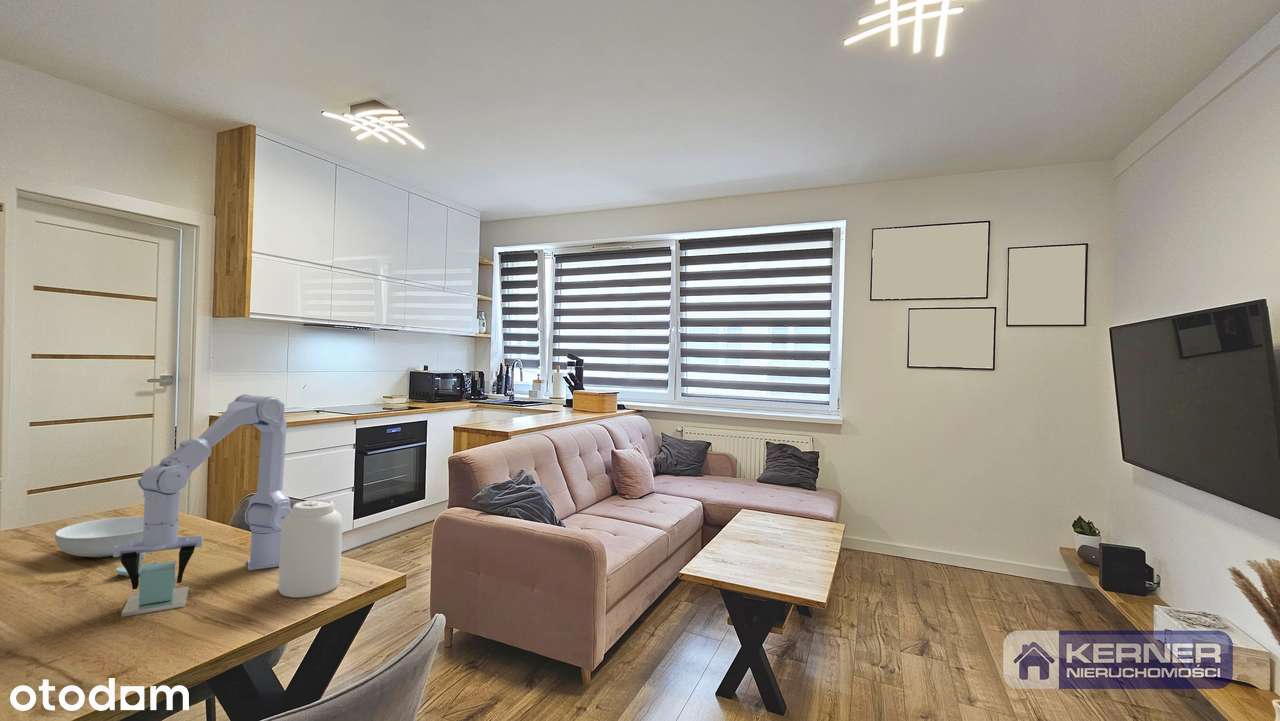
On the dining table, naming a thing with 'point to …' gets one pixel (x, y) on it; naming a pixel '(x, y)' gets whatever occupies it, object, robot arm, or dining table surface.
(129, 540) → the serving bowl
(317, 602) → the dining table surface
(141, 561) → the pacifier
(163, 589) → the teal block
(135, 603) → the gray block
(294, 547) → the white jar
